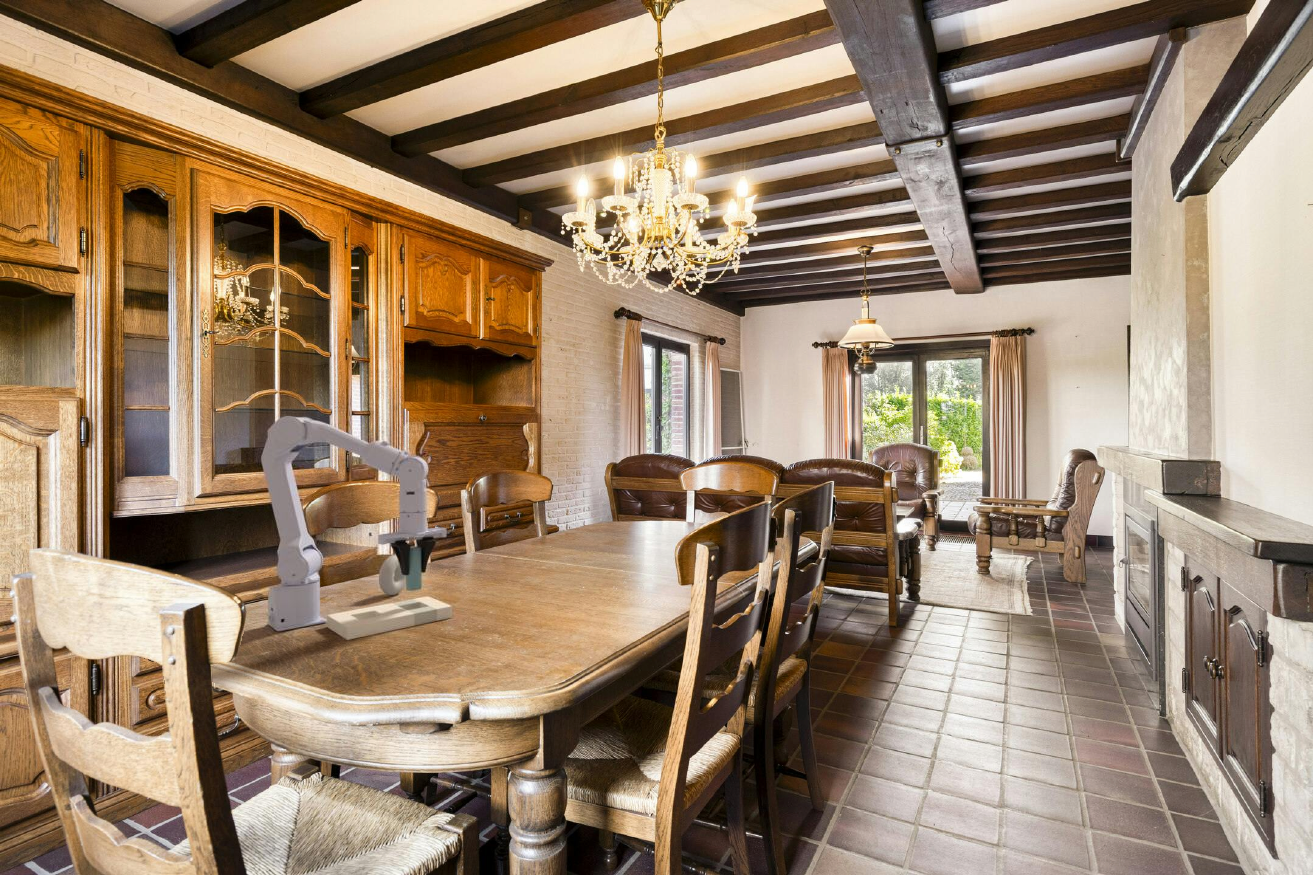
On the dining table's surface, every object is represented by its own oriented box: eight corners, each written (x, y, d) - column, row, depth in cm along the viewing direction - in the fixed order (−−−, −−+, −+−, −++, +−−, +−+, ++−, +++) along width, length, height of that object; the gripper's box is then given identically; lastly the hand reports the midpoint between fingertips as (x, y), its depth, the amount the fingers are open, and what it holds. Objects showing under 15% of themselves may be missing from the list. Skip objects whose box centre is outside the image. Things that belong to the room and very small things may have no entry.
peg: (409, 591, 141) (409, 549, 141) (403, 588, 143) (403, 547, 143) (424, 588, 143) (423, 547, 143) (417, 586, 146) (417, 546, 146)
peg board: (347, 639, 128) (347, 627, 128) (327, 626, 137) (326, 614, 137) (452, 617, 143) (452, 606, 143) (428, 606, 152) (427, 596, 152)
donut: (388, 600, 158) (388, 559, 158) (375, 599, 159) (375, 558, 159) (411, 590, 168) (411, 551, 168) (399, 589, 169) (398, 551, 169)
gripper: (387, 516, 135) (387, 581, 136) (452, 510, 145) (453, 570, 146) (374, 513, 140) (374, 576, 141) (438, 507, 151) (438, 566, 151)
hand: (413, 573), depth 143 cm, fingers closed on peg, 3 cm apart
